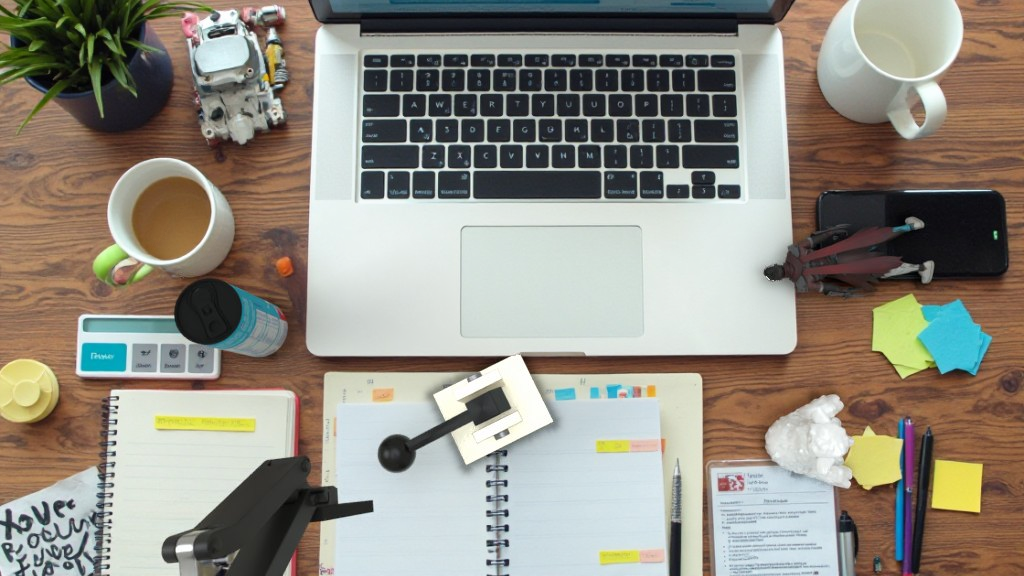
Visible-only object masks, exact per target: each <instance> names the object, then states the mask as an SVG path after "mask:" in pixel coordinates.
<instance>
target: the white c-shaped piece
mask: <svg viewBox="0 0 1024 576" xmlns="http://www.w3.org/2000/svg"><path fill="white" fill-rule="evenodd" d="M497 387H501V388H502V390H503V392H504V394H505V396H506V398H507V400H508V402H509V404H510V406H511V409H510V410H508V411H506V412H504V413H502V414H500V415H498V416H496V417H494V418H492V419H490V420H488V421H486V422H484V423H482V424H480V425H477V426H475V425H474V423H473V421H472V422H470V423H468V424H466V425H465V426H463V427H461V428H459V429H457V430H455V431H453V432H451V433H450V434H451V436H452V438H453V441H454V442H455V445H456V447H457V449H458V451H459V454H460V455H461V457H462V460H463V462H464V464H465V466H468V465H470V464H472V463H475V462H476V461H478V460H480V459H482V458H484V457H486V456H487V455H490V454H492V453H494V452H496V451H498V450H500V449H502V448H504V447H506V446H508V445H510V444H511V443H514V442H515V441H518V440H519V439H522V438H524V437H526V436H528V435H530V434H531V433H534V432H536V431H537V430H540V429H542V428H543V427H546V426H548V425H550V424H552V423H554V419H553V418H552V416H551V414H550V412H549V409H548V407H547V405H546V403H545V402H544V399H543V397H542V395H541V393H540V391H539V389H538V387H537V385H536V383H535V381H534V379H533V377H532V375H531V372H530V371H529V369H528V366H527V365H526V363H525V361H524V359H523V357H522V354H520V355H516V356H512V355H510V356H509V357H506V358H504V359H502V360H500V361H499V362H496V363H494V364H492V365H490V366H488V367H486V368H484V369H482V370H480V371H478V372H476V373H474V374H471V375H470V376H467V377H465V378H463V379H462V380H459V381H458V382H455V383H453V384H452V385H450V386H447V387H446V388H443V389H441V390H439V391H437V392H435V393H433V394H432V396H433V399H434V400H435V402H436V404H437V407H438V408H439V411H440V413H441V415H442V417H443V419H444V422H445V421H447V420H449V419H450V418H452V417H454V416H456V415H458V414H460V413H462V412H464V411H466V410H467V408H466V406H465V403H467V402H469V401H470V400H472V399H474V398H476V397H478V396H480V395H482V394H484V393H486V392H487V391H490V390H492V389H495V388H497Z"/></svg>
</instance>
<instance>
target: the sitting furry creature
mask: <svg viewBox="0 0 1024 576" xmlns="http://www.w3.org/2000/svg"><path fill="white" fill-rule="evenodd" d="M840 399H841V398H840V396H839V395H837V394H835V393H834V394H833V393H832V394H827V395H825V394H823V395H821V396H820V397H818V398H814V399H812V400H811V401H810V402H809V403H805V405H802V406H800V407H799V408H796V409H795V410H794V411H791V412H789V413H788V414H786V415H785V416H784V415H783V416H779V419H776V420H775V422H773V423H772V424H771V425H770V426H769V427H768V429H767V431H766V433H765V435H764V440H765V445H764V449H765V450H766V452H765V453H766V454H767V455H769V457H770V459H771V461H772V462H774V463H777V465H778V467H779V468H782V469H783V470H786V471H789V472H793V473H794V474H797V475H798V474H799V475H805V476H806V477H807V478H810V479H815V480H816V479H817V480H818V481H819V482H825V483H826V484H827V485H829V486H834V487H838V488H841V489H846V490H848V489H849V488H851V485H852V482H851V481H850V480H852V478H853V470H852V468H850V467H849V466H847V465H844V464H845V459H844V456H845V455H846V454H848V453H849V449H850V448H851V447H852V446H853V445H854V444H855V439H854V437H852V436H850V435H848V434H847V432H846V431H847V430H846V428H844V427H842V421H841V419H840V418H839V417H837V416H836V415H838V413H840V412H842V410H843V409H844V407H845V405H844V402H842V401H841V400H840Z"/></svg>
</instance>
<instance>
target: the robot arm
mask: <svg viewBox="0 0 1024 576" xmlns="http://www.w3.org/2000/svg"><path fill="white" fill-rule="evenodd" d="M311 462H312V461H311V459H310V457H309V456H308V455H304V454H303V455H295V456H288V457H280V458H272V459H266V460H264V461H263V462H262V463H260V465H259V466H257V468H255V470H253V471H252V472H251V473H250V474H249V475H248V476H247V477H246V478H245V479H244V480H242V482H241V483H240V484H239V485H238V486H236V487H235V488H234V489H233V490H232V491H231V492H230V493H229V494H228V495H227V496H226V497H225V498H224V499H223V500H222V501H221V502H220V503H218V504H217V506H215V507H214V508H213V509H212V510H211V511H210V512H209V513H208V514H207V515H206V516H205V517H204V518H202V520H200V521H199V522H198V523H197V524H196V525H195V526H194V527H193V528H190V529H188V530H187V529H186V530H184V531H182V532H179V533H176V534H172V535H169V536H168V537H166V538H165V539H164V541H163V542H162V545H161V557H162V560H163V561H164V563H166V564H177V563H178V571H179V576H217V575H218V574H219V573H220V572H221V571H222V569H223V568H224V566H229V568H228V569H227V571H226V572H225V575H224V576H284V574H285V572H286V570H287V568H288V566H289V565H290V562H291V561H292V558H293V557H294V554H295V552H296V550H297V548H298V546H299V544H300V542H301V540H302V539H303V536H304V534H305V532H306V530H307V528H308V526H309V524H311V523H318V522H326V521H332V520H337V519H342V518H348V517H353V516H360V515H365V514H369V513H370V514H371V513H374V512H375V511H374V500H373V499H370V500H369V499H368V500H361V501H350V502H340V503H339V491H338V490H339V489H338V487H336V486H335V485H323V486H314V487H313V486H311V485H310V484H309V482H308V479H307V478H308V477H309V476H310V474H311V471H312V464H311ZM235 552H237V553H236V555H235V554H234V553H235Z"/></svg>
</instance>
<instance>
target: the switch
mask: <svg viewBox="0 0 1024 576" xmlns="http://www.w3.org/2000/svg"><path fill="white" fill-rule="evenodd" d="M465 406H466V408H467V410H466V411H464V412H462V413H460V414H458V415H456V416H454V417H452V418H450V419H449V420H447V421H445V420H444V421H443V422H441V423H439V424H436V425H435V426H433V427H432V428H430V429H428V430H426V431H424V432H422V433H419V434H418V435H416V436H415V437H412V438H410V437H409V436H407V435H405V434H402V433H393V434H389V435H388V436H386V437H385V438H384V439H383V440H382V441H381V442H380V444H379V446H378V448H377V460H378V463H379V465H380V466H381V467H382V468H383V469H384V470H385V471H387V472H389V473H391V474H401V473H404V472H406V471H408V470H409V469H410V468H412V466H413V464H415V461H416V458H417V451H418V450H420V449H422V448H424V447H425V446H427V445H429V444H432V443H434V442H435V441H437V440H440V439H441V438H443V437H445V436H447V435H449V434H451V432H453V431H455V430H457V429H459V428H461V427H463V426H465V425H466V424H468V423H470V422H472V421H473V423H474V425H475V426H477V425H480V424H482V423H484V422H486V421H488V420H490V419H492V418H494V417H496V416H498V415H500V414H502V413H504V412H506V411H508V410H510V409H511V406H510V404H509V402H508V400H507V398H506V396H505V394H504V392H503V390H502V388H501V387H497V388H495V389H492V390H490V391H487V392H486V393H484V394H482V395H480V396H478V397H476V398H474V399H472V400H470V401H469V402H467V403H465Z"/></svg>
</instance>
